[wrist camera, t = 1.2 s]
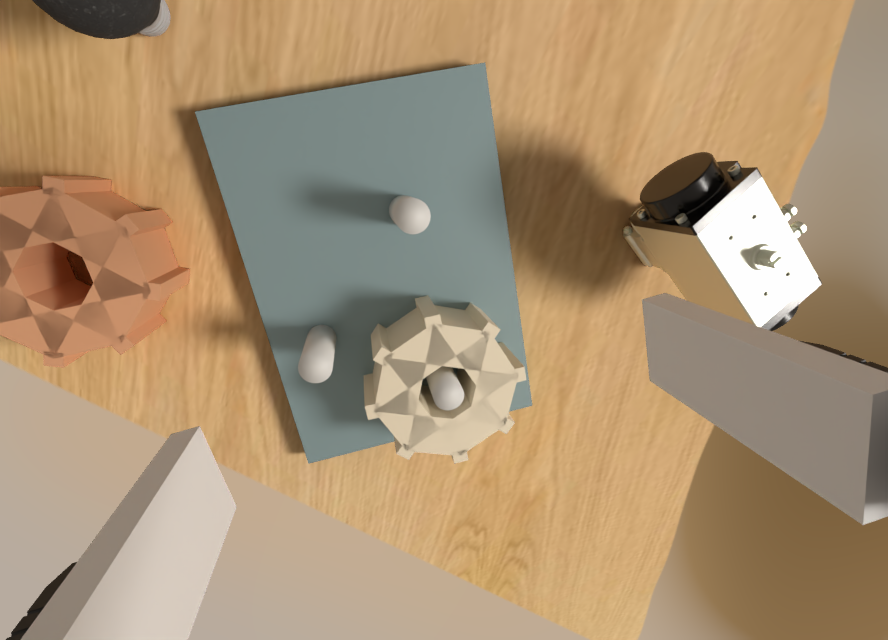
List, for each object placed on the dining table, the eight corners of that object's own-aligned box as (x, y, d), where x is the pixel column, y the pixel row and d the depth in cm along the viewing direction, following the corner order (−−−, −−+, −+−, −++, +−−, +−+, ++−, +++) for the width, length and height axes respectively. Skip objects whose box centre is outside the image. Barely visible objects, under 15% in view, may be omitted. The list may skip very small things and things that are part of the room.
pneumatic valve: (662, 306, 39) (788, 358, 28) (583, 199, 35) (691, 209, 24) (713, 261, 39) (862, 294, 27) (639, 147, 35) (776, 132, 23)
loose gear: (-24, 197, 28) (-100, 200, 24) (152, 165, 29) (113, 162, 25) (51, 352, 32) (-3, 382, 27) (207, 317, 33) (182, 341, 28)
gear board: (202, 114, 29) (157, 95, 23) (479, 67, 31) (512, 37, 25) (310, 452, 37) (300, 511, 30) (525, 397, 39) (560, 441, 32)
